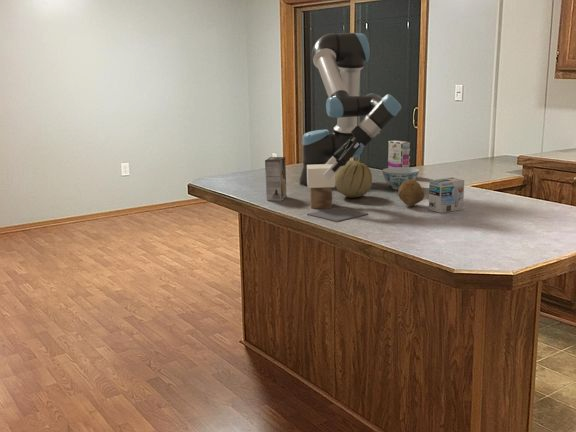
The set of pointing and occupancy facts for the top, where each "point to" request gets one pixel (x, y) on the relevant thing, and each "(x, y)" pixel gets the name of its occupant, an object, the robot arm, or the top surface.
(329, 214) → the mat
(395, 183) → the chinaware
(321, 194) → the tin
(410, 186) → the coconut
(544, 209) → the top surface
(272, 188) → the coffee box
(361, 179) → the cantaloupe
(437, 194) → the light bulb box
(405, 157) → the candy bar box
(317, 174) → the cream cube
